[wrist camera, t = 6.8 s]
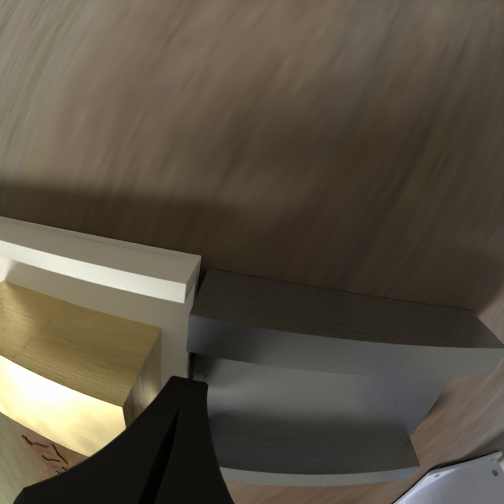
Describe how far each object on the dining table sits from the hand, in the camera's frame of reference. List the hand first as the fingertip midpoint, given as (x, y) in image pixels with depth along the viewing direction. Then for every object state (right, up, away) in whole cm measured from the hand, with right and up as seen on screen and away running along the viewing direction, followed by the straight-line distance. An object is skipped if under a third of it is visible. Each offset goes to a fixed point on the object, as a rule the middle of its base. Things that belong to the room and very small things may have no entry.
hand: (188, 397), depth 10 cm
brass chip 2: (-3, +1, +1) cm, 4 cm away
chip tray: (-6, +2, +2) cm, 6 cm away
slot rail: (+5, 0, +2) cm, 6 cm away
